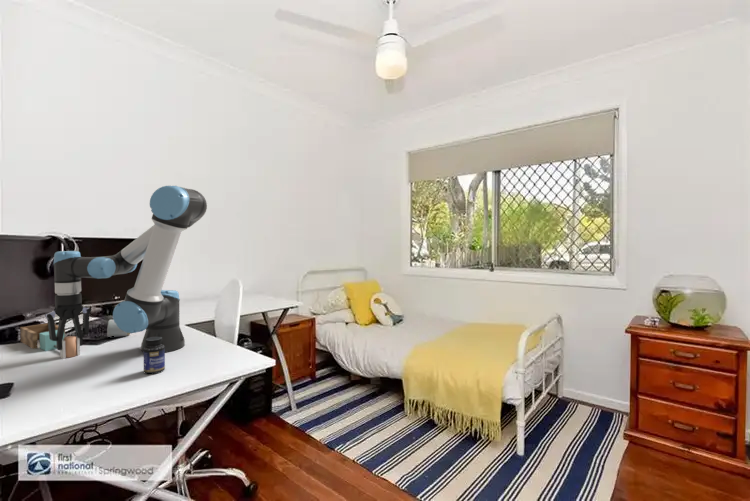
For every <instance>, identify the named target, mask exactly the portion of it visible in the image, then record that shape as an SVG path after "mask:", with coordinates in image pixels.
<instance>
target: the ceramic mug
mask: <svg viewBox="0 0 750 501" xmlns="http://www.w3.org/2000/svg"><path fill="white" fill-rule="evenodd" d="M106 329H107V330H106V335H107V337H108V336H114V337H113V338H119V337H127V336H130V335H131V333H127V332H124V331H122V330H121V329H119V328H118V327H117V325H116V323H115V322H114V320H113V319H109V320H108V322H107V328H106Z"/></svg>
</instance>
